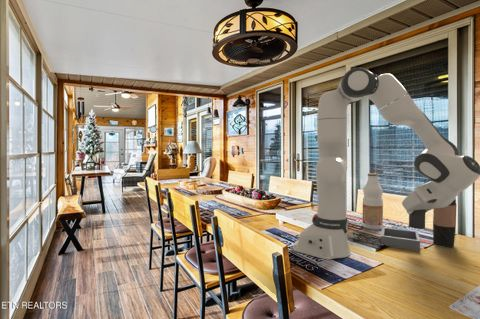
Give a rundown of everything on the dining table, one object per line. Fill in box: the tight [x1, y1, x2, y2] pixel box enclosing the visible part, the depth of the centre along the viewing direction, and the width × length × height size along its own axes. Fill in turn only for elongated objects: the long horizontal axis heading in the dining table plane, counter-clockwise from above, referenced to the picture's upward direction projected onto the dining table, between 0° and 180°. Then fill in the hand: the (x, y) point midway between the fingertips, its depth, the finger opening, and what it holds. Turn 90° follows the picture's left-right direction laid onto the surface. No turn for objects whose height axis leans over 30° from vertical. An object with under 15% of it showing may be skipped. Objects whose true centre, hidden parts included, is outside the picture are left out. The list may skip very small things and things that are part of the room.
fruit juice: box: [362, 172, 384, 231], centre depth 141 cm, size 9×9×28 cm
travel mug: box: [432, 198, 457, 249], centre depth 116 cm, size 8×8×20 cm
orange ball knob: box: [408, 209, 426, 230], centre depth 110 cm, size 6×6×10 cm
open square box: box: [380, 226, 421, 252], centre depth 119 cm, size 14×14×4 cm
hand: (415, 212), depth 111 cm, fingers closed on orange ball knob, 5 cm apart
